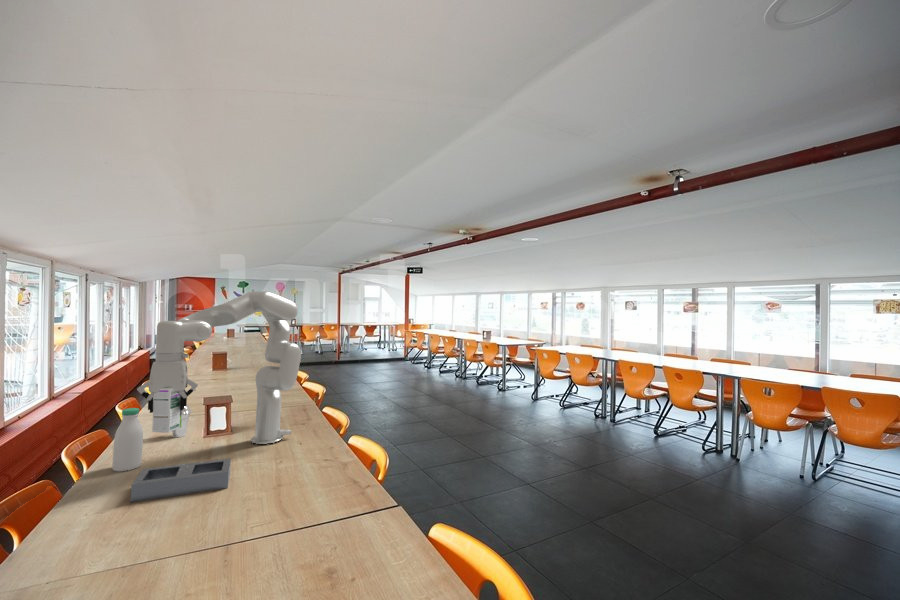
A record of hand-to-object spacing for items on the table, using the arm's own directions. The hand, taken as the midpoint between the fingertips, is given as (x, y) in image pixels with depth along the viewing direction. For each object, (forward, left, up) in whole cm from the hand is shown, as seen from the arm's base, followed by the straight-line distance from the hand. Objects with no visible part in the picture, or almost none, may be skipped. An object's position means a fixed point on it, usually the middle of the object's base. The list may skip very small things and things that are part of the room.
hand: (167, 410), depth 128 cm
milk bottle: (+12, -12, -22) cm, 27 cm away
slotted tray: (-8, +12, -21) cm, 26 cm away
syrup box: (0, 0, -7) cm, 7 cm away
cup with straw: (+2, -45, -22) cm, 50 cm away
